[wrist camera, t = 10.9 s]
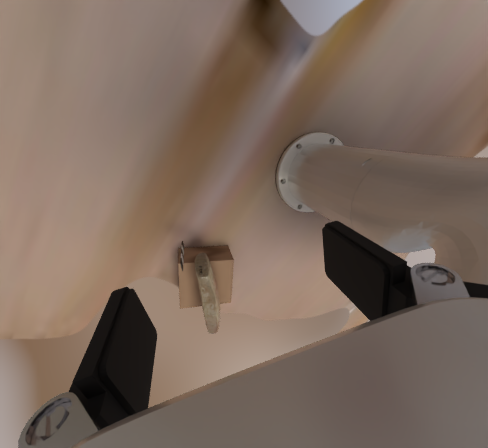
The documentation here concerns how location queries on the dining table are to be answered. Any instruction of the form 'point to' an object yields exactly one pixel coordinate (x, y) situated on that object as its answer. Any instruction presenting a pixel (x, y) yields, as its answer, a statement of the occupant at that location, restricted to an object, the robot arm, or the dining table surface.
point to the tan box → (221, 268)
